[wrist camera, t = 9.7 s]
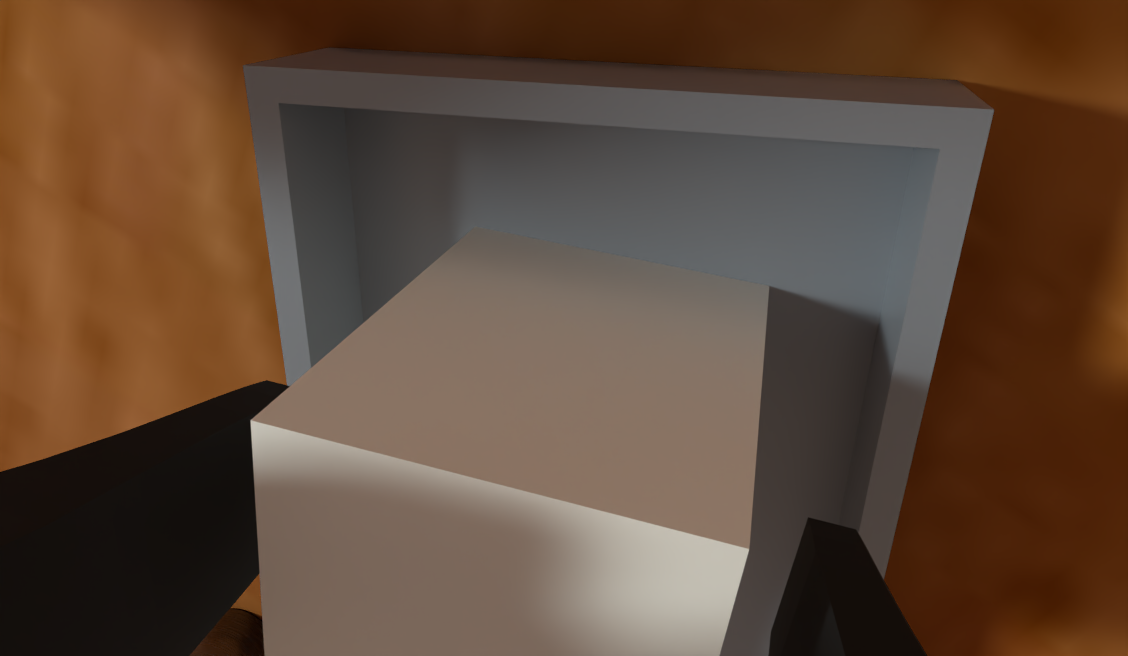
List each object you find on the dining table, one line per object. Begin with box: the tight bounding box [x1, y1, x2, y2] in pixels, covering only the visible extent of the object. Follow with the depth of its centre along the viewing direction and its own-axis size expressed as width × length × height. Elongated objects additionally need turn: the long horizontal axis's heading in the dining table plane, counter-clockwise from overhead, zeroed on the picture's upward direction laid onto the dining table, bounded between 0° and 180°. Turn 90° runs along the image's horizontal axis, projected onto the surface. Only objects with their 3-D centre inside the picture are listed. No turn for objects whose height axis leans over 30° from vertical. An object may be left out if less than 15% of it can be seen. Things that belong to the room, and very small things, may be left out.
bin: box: [243, 47, 994, 656], centre depth 16 cm, size 20×10×2 cm, turn 178°
